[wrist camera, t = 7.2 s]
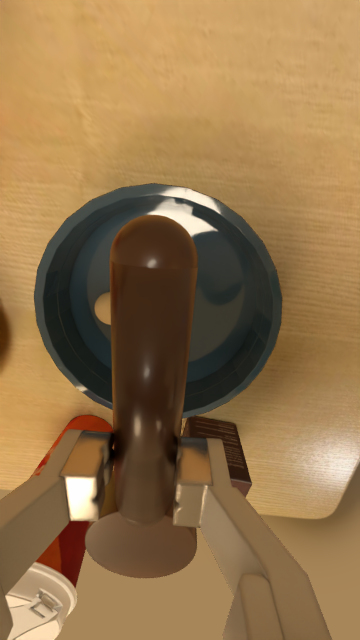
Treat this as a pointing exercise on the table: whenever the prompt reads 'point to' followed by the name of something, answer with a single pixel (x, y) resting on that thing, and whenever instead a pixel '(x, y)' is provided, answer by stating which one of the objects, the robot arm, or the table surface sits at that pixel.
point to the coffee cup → (52, 569)
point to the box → (230, 444)
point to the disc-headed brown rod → (147, 398)
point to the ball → (103, 308)
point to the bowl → (209, 305)
